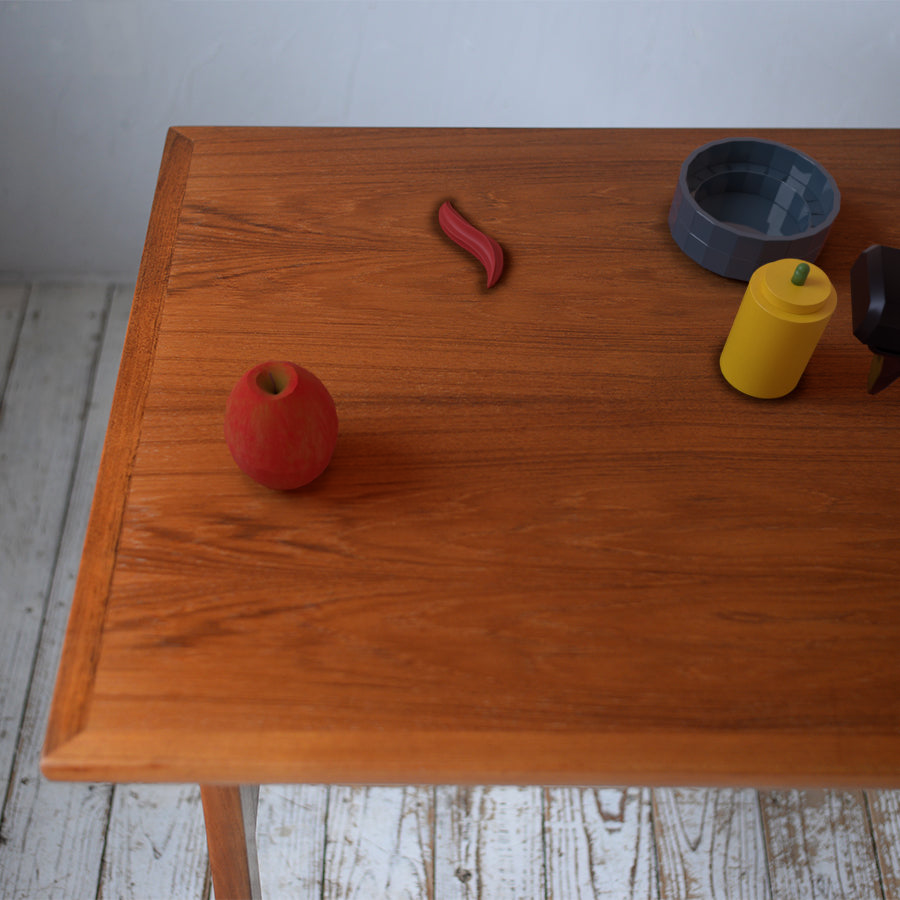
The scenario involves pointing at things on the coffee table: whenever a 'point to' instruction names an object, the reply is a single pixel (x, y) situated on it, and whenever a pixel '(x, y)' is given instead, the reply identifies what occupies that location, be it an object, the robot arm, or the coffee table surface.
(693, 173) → the bowl
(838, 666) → the coffee table surface
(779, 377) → the pepper
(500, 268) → the cayenne pepper
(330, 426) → the apple
